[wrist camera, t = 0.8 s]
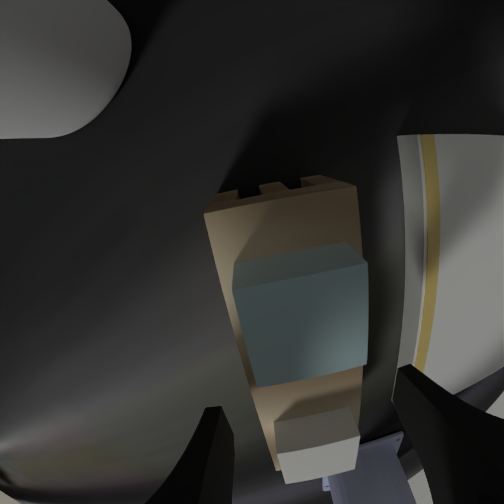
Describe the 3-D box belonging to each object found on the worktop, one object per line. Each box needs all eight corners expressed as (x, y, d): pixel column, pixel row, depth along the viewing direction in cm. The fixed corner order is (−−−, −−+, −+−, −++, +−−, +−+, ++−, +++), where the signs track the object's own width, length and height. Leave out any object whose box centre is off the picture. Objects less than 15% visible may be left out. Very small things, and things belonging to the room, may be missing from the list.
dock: (508, 345, 18) (519, 356, 16) (391, 399, 19) (400, 418, 17) (532, 138, 12) (551, 140, 10) (396, 135, 13) (417, 134, 11)
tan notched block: (337, 402, 19) (354, 454, 14) (270, 415, 19) (276, 470, 14) (318, 174, 14) (356, 186, 9) (217, 193, 14) (203, 213, 9)
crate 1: (349, 332, 11) (366, 364, 9) (255, 352, 11) (257, 387, 9) (345, 241, 10) (367, 262, 8) (234, 262, 10) (231, 289, 8)
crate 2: (346, 443, 14) (354, 469, 12) (282, 456, 14) (285, 483, 12) (349, 405, 12) (360, 435, 10) (273, 422, 12) (276, 454, 11)
